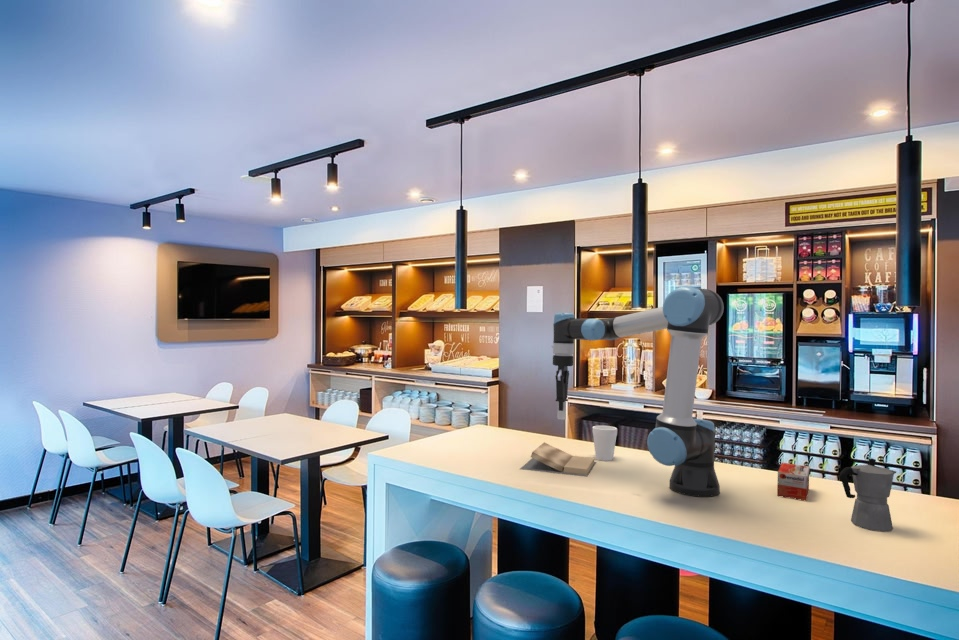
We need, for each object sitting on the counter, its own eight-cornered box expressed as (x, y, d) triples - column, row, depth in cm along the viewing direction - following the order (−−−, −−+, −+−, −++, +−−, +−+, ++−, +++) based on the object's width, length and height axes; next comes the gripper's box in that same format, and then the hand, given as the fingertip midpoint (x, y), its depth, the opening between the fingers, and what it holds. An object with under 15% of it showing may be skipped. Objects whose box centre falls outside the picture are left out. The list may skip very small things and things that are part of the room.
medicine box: (806, 502, 167) (807, 475, 167) (776, 497, 172) (777, 471, 172) (809, 490, 180) (809, 465, 180) (781, 485, 184) (781, 462, 184)
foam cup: (617, 464, 208) (618, 430, 208) (592, 463, 209) (593, 429, 209) (615, 459, 217) (615, 426, 217) (591, 457, 218) (592, 425, 219)
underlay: (596, 464, 207) (596, 456, 207) (587, 479, 187) (587, 470, 187) (534, 458, 215) (534, 450, 215) (519, 471, 195) (519, 463, 195)
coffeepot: (881, 519, 152) (881, 454, 152) (909, 532, 143) (910, 463, 143) (827, 519, 151) (828, 454, 151) (852, 532, 142) (853, 462, 142)
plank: (571, 460, 209) (573, 455, 208) (561, 471, 192) (563, 466, 191) (542, 446, 212) (544, 442, 212) (530, 457, 196) (532, 451, 195)
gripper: (556, 353, 208) (555, 415, 208) (549, 355, 196) (547, 421, 196) (576, 354, 206) (574, 417, 206) (569, 356, 193) (567, 423, 193)
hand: (561, 419), depth 201 cm, fingers closed
